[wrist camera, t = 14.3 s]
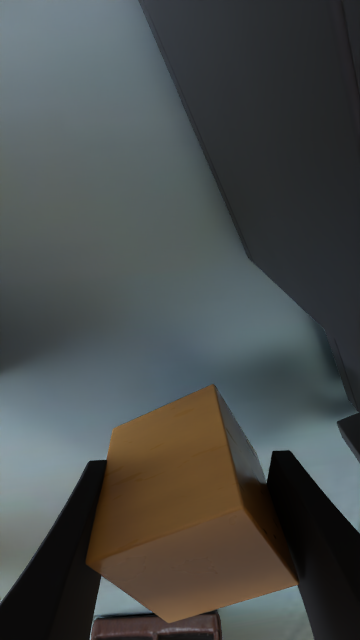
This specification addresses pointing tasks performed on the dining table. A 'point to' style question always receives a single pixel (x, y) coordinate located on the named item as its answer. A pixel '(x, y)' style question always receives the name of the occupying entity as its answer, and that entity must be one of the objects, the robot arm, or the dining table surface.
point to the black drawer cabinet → (279, 136)
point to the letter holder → (158, 628)
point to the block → (188, 512)
